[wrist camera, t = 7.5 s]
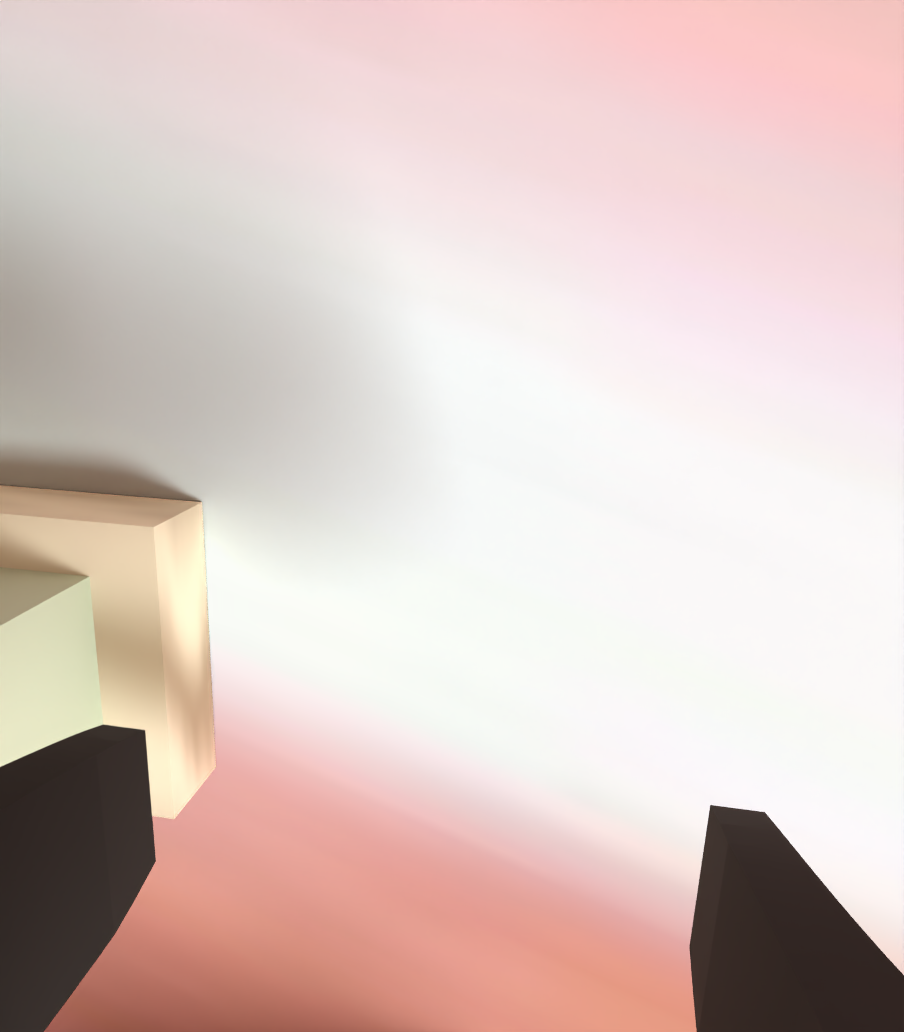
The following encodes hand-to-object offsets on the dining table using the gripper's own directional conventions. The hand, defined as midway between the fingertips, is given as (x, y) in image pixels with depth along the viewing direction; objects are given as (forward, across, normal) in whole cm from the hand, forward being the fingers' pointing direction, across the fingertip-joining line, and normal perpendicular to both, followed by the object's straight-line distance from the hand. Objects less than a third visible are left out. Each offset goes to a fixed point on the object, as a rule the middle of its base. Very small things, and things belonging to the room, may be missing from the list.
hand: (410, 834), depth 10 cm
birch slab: (+10, +12, +3) cm, 16 cm away
